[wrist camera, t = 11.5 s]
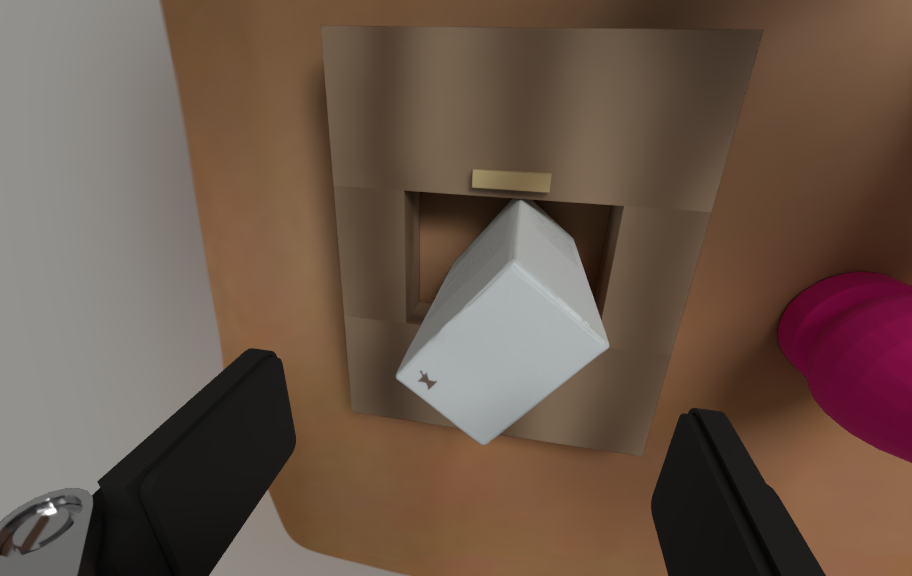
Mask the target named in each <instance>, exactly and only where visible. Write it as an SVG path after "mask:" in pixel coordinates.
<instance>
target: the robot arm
mask: <svg viewBox="0 0 912 576" xmlns="http://www.w3.org/2000/svg"><path fill="white" fill-rule="evenodd" d="M295 444H296V435H295V429H294V424H293V418H292V413H291V408H290V402H289V397H288V391H287V386H286V380H285V375H284V369H283V364H282V361H281V359H280V358H277V356H276V354H275V353H274V352H273V351H267V350H260V349H253V348H251V349H248V350H246V351H245V352H244V353H242V354H241V355H240V356H239V357H238V358H237V359H236V360H235V361H233V362H232V363H231V364H230V365H229V366H228V367H227V368H225V369H224V370H223V371H222V372H221V373H220V374H219V375H218V376H217V377H215V378H214V379H213V380H212V381H211V382H210V383H209V384H207V385H206V386H205V387H204V388H203V389H202V390H201V391H199V392H198V393H197V394H196V395H195V396H194V397H193V398H191V399H190V400H189V401H188V402H187V403H186V404H185V405H184V406H182V407H181V408H180V409H179V410H178V411H177V412H176V413H175V414H174V415H172V416H171V417H170V418H169V419H168V420H167V421H165V422H164V423H163V424H162V425H161V426H160V427H159V428H158V429H156V430H155V431H154V432H153V433H152V434H151V435H150V436H148V437H147V438H146V439H145V440H144V441H143V442H142V443H140V444H139V445H138V446H137V447H136V448H135V449H134V450H133V451H131V452H130V453H129V454H128V455H127V456H126V457H125V458H123V459H122V460H121V461H120V462H119V463H118V464H117V465H116V466H114V467H113V468H112V469H111V470H110V471H109V472H108V473H107V474H105V475H104V476H103V477H102V478H101V479H100V480H99V481H98V484H99V486H100V489H99V490H97V491H96V492H95V493H94V494H93V495H91V494H90V493H89V492H88V491H86V490H83V489H80V488H65V489H61V490H57V491H53V492H49V493H47V494H44V495H42V496H39V497H37V498H34V499H33V500H31V501H29V502H27V503H25V504H24V505H22V506H20V507H18V508H17V509H15V510H14V511H13V512H11V513H10V514H9V515H7V516H6V517H4V518H3V519H2V520H1V521H0V576H209V575H210V573H211V571H212V570H213V569H214V567H215V566H216V564H217V563H218V561H219V560H220V558H221V557H222V555H223V554H224V552H225V551H226V550H227V548H228V547H229V545H230V544H231V542H232V541H233V539H234V538H235V536H236V535H237V533H238V532H239V531H240V529H241V528H242V526H243V525H244V523H245V522H246V520H247V519H248V517H249V516H250V514H251V513H252V511H253V510H254V509H255V507H256V506H257V504H258V502H259V501H260V500H261V498H262V497H263V495H264V494H265V492H266V491H267V489H268V488H269V487H270V485H271V484H272V482H273V481H274V479H275V478H276V476H277V475H278V473H279V472H280V470H281V469H282V467H283V466H284V465H285V463H286V462H287V460H288V459H289V457H290V456H291V454H292V453H293V451H294V448H295ZM651 510H652V516H653V520H654V524H655V528H656V531H657V535H658V539H659V542H660V546H661V550H662V553H663V557H664V561H665V564H666V568H667V572H668V576H826V575H825V573H824V572H823V570H822V568H821V567H820V565H819V563H818V562H817V560H816V558H815V557H814V555H813V553H812V552H811V550H810V548H809V547H808V545H807V543H806V542H805V540H804V538H803V537H802V535H801V533H800V532H799V530H798V528H797V527H796V525H795V523H794V521H793V520H792V518H791V516H790V515H789V513H788V511H787V510H786V508H785V506H784V505H783V503H782V501H781V500H780V498H779V496H778V495H777V494H776V492H775V491H774V490H773V488H771V487H770V486H769V485H767V484H766V483H765V481H764V479H763V477H762V476H761V474H760V472H759V471H758V469H757V467H756V465H755V464H754V462H753V460H752V459H751V457H750V455H749V453H748V452H747V450H746V448H745V447H744V445H743V443H742V441H741V440H740V438H739V436H738V435H737V433H736V431H735V429H734V428H733V426H732V424H731V423H730V421H729V419H728V417H727V416H726V415H725V414H724V413H723V412H720V411H713V410H705V409H698V408H692V409H691V410H690V411H689V413H688V414H681V415H680V417H679V419H678V422H677V425H676V428H675V431H674V434H673V437H672V440H671V443H670V446H669V449H668V452H667V455H666V458H665V461H664V464H663V467H662V470H661V473H660V475H659V478H658V481H657V484H656V487H655V490H654V493H653V496H652V501H651Z"/></svg>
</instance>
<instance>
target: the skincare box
mask: <svg viewBox="0 0 912 576" xmlns="http://www.w3.org/2000/svg"><path fill="white" fill-rule="evenodd" d="M608 348H609V342H608V339H607V336H606V332H605V330H604V327H603V324H602V321H601V318H600V315H599V312H598V309H597V306H596V303H595V301H594V297H593V295H592V292H591V289H590V286H589V283H588V280H587V277H586V274H585V271H584V268H583V265H582V262H581V259H580V256H579V253H578V250H577V248H576V245H575V242H574V239H573V238H572V237H571V236H570V235H569V234H568V233H567V232H566V231H565V230H564V229H563V228H561V227H560V226H559V225H558V224H557V223H556V222H555V221H554V220H553V219H552V218H551V217H550V216H549V215H548V214H547V213H546V212H545V211H544V210H543V209H541V208H540V207H539V206H538V205H537V204H536V203H535V202H534V201H533V200H531V199H517V198H513V199H512V200H511V201H510V202H509V203H508V204H507V205H506V206H505V207H504V208H503V209H502V211H501V212H500V213H499V214H498V215H497V216H496V217H495V218H494V219H493V220H492V221H491V223H490V224H489V225H488V226H487V227H486V228H485V229H484V230H483V231H482V232H481V233H480V234H479V236H478V237H477V238H476V239H475V240H474V241H473V242H472V243H471V244H470V245H469V247H468V248H467V249H466V250H465V251H464V252H463V253H462V254H461V255H460V256H459V257H458V259H457V260H456V261H455V262H454V263H453V265H452V267H451V269H450V271H449V272H448V274H447V276H446V278H445V280H444V282H443V284H442V286H441V288H440V290H439V292H438V294H437V296H436V298H435V300H434V301H433V303H432V305H431V307H430V309H429V311H428V313H427V315H426V316H425V319H424V320H423V322H422V324H421V326H420V328H419V330H418V332H417V334H416V336H415V338H414V340H413V341H412V343H411V345H410V347H409V349H408V350H407V353H406V355H405V357H404V358H403V361H402V363H401V365H400V367H399V369H398V371H397V373H396V379H397V380H398V381H400V382H401V383H403V384H404V385H405V386H406V387H408V388H409V389H410V390H412V391H413V392H414V393H416V394H417V395H418V396H419V397H421V398H422V399H423V400H425V401H426V402H427V403H428V404H430V405H431V406H432V407H434V408H435V409H436V410H437V411H439V412H440V413H441V414H442V415H443V416H445V417H446V418H447V419H449V420H450V421H451V422H452V423H454V424H455V425H456V426H457V427H459V428H460V429H461V430H462V431H464V432H465V433H466V434H468V435H469V436H470V437H472V438H473V439H474V440H476V441H477V442H479V443H480V444H482V445H487V444H488V443H489V442H490V441H491V440H493V439H494V438H495V437H497V436H498V435H499V434H500V433H502V432H503V431H504V430H505V429H507V428H508V427H509V426H511V425H512V424H513V423H514V422H516V421H517V420H518V419H519V418H521V417H522V416H523V415H524V414H526V413H527V412H528V411H529V410H531V409H532V408H533V407H534V406H536V405H537V404H538V403H539V402H541V401H542V400H543V399H544V398H546V397H547V396H548V395H549V394H551V393H552V392H553V391H554V390H555V389H557V388H558V387H559V386H561V385H562V384H563V383H564V382H566V381H567V380H568V379H569V378H571V377H572V376H573V375H574V374H576V373H577V372H578V371H579V370H581V369H582V368H583V367H584V366H586V365H587V364H588V363H590V362H591V361H592V360H593V359H595V358H596V357H597V356H599V355H600V354H601V353H603V352H604V351H606V350H607V349H608Z"/></svg>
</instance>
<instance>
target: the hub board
mask: <svg viewBox="0 0 912 576" xmlns="http://www.w3.org/2000/svg"><path fill="white" fill-rule="evenodd" d="M762 33H763V30H719V29H611V28H503V27H395V26H321V38H322V50H323V63H324V75H325V87H326V100H327V112H328V124H329V137H330V149H331V161H332V174H333V186H334V198H335V211H336V223H337V235H338V247H339V260H340V272H341V284H342V297H343V309H344V321H345V334H346V346H347V358H348V371H349V383H350V395H351V407H352V412H358V413H364V414H370V415H377V416H383V417H390V418H396V419H403V420H409V421H416V422H422V423H428V424H435V425H441V426H448V427H454V428H459V427H457V426H456V425H455V424H454V423H452V422H451V421H450V420H449V419H447V418H446V417H445V416H443V415H442V414H441V413H440V412H439V411H437V410H436V409H435V408H434V407H432V406H431V405H430V404H428V403H427V402H426V401H425V400H423V399H422V398H421V397H419V396H418V395H417V394H416V393H414V392H413V391H412V390H410V389H409V388H408V387H406V386H405V385H404V384H403V383H401V382H400V381H398V380H397V379H396V373H397V371H398V369H399V367H400V365H401V363H402V361H403V358H404V357H405V355H406V353H407V350H408V349H409V347H410V345H411V343H412V341H413V340H414V338H415V336H416V334H417V332H418V330H419V328H420V326H421V324H422V322H423V320H424V319H425V316H426V315H427V313H428V311H429V309H430V307H431V305H432V303H429V302H420V192H431V193H446V194H460V195H474V196H489V197H503V198H517V199H531V200H546V201H560V202H574V203H588V204H603V205H611V209H610V215H609V220H608V225H607V231H606V236H605V242H604V247H603V252H602V258H601V263H600V269H599V274H598V279H597V285H596V290H595V296H594V301H595V303H596V306H597V309H598V312H599V315H600V318H601V321H602V324H603V327H604V330H605V332H606V336H607V339H608V342H609V348H608V349H607V350H606V351H604V352H603V353H601V354H600V355H599V356H597V357H596V358H595V359H593V360H592V361H591V362H590V363H588V364H587V365H586V366H584V367H583V368H582V369H581V370H579V371H578V372H577V373H576V374H574V375H573V376H572V377H571V378H569V379H568V380H567V381H566V382H564V383H563V384H562V385H561V386H559V387H558V388H557V389H555V390H554V391H553V392H552V393H551V394H549V395H548V396H547V397H546V398H544V399H543V400H542V401H541V402H539V403H538V404H537V405H536V406H534V407H533V408H532V409H531V410H529V411H528V412H527V413H526V414H524V415H523V416H522V417H521V418H519V419H518V420H517V421H516V422H514V423H513V424H512V425H511V426H509V427H508V428H507V429H505V430H504V431H503V432H502V433H500V434H499V435H506V436H512V437H519V438H525V439H532V440H538V441H544V442H551V443H557V444H564V445H570V446H577V447H583V448H590V449H596V450H602V451H609V452H615V453H622V454H628V455H635V456H641V457H642V456H643V452H644V448H645V445H646V441H647V438H648V434H649V431H650V427H651V424H652V420H653V417H654V413H655V410H656V406H657V403H658V399H659V396H660V392H661V389H662V385H663V382H664V378H665V375H666V371H667V367H668V364H669V360H670V357H671V353H672V350H673V346H674V343H675V339H676V336H677V332H678V329H679V325H680V322H681V318H682V315H683V311H684V308H685V304H686V301H687V297H688V294H689V290H690V287H691V283H692V279H693V276H694V272H695V269H696V265H697V262H698V258H699V255H700V251H701V248H702V244H703V241H704V237H705V234H706V230H707V227H708V223H709V220H710V216H711V213H712V209H713V206H714V202H715V199H716V195H717V191H718V188H719V184H720V181H721V177H722V174H723V170H724V167H725V163H726V160H727V156H728V153H729V149H730V146H731V142H732V139H733V135H734V132H735V128H736V125H737V121H738V118H739V114H740V110H741V107H742V103H743V100H744V96H745V93H746V89H747V86H748V82H749V79H750V75H751V72H752V68H753V65H754V61H755V58H756V54H757V51H758V47H759V44H760V40H761V37H762Z"/></svg>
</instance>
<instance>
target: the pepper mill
mask: <svg viewBox="0 0 912 576" xmlns="http://www.w3.org/2000/svg"><path fill="white" fill-rule="evenodd" d="M778 341H779V346H780V348H781V351H782V352H783V354H784V356H785V357H786V358H787V359H788V360H789V361H790V362H791V363H792V364H793V365H794V366H795V367H796V368H797V369H798V370H799V371H800V372H801V373H802V374H803V375H804V376H805V377H806V378H807V380H808V385H809V389H810V391H811V393H812V395H813V397H814V399H815V401H816V402H817V403H818V404H819V406H820V407H821V408H822V410H823V411H824V412H825V413H826V414H828V415H829V416H830V417H831V418H832V419H833V420H834V421H836V422H837V423H838V424H839V425H840V426H841V427H843V428H844V429H845V430H847V431H848V432H849V433H851V434H852V435H854V436H856V437H858V438H859V439H861V440H863V441H865V442H866V443H868V444H870V445H872V446H874V447H875V448H877V449H879V450H882V451H884V452H887V453H889V454H892V455H894V456H896V457H899V458H901V459H904V460H906V461H909V462H911V463H912V286H910V285H907V284H905V283H903V282H901V281H899V280H897V279H895V278H892V277H890V276H887V275H882V274H878V273H870V272H852V273H845V274H840V275H837V276H834V277H830V278H827V279H825V280H822V281H819V282H818V283H816V284H814V285H813V286H811V287H809V288H808V289H806V290H804V291H803V292H802V293H801V294H800V295H799V296H797V297H796V298H795V299H794V300H793V301H792V302H791V303H790V304H789V306H788V308H787V309H786V311H785V312H784V314H783V315H782V318H781V321H780V324H779V328H778Z"/></svg>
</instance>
